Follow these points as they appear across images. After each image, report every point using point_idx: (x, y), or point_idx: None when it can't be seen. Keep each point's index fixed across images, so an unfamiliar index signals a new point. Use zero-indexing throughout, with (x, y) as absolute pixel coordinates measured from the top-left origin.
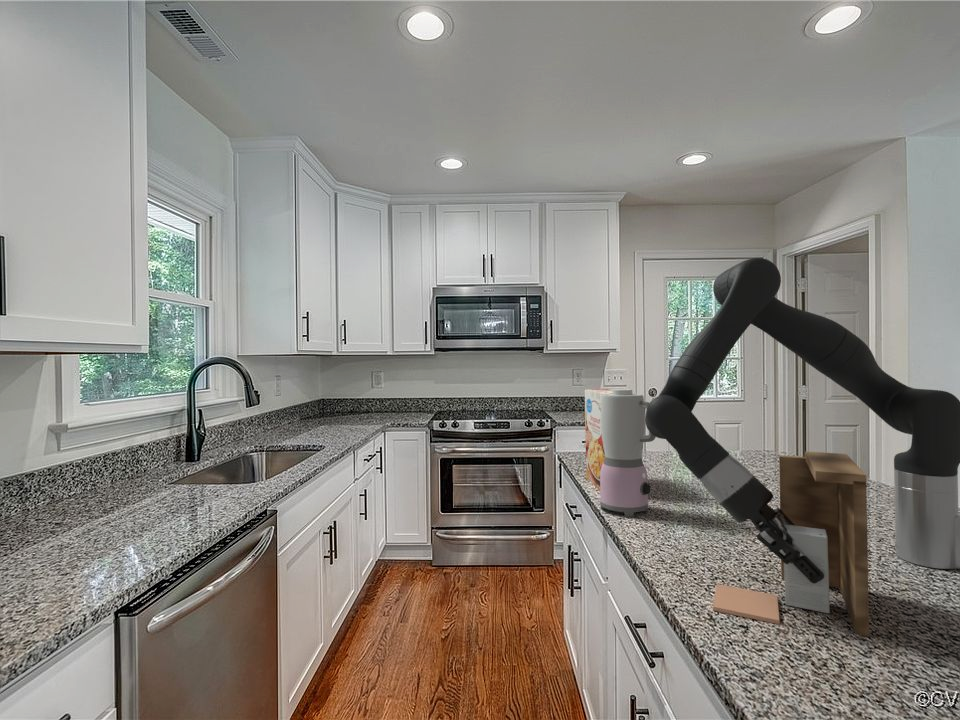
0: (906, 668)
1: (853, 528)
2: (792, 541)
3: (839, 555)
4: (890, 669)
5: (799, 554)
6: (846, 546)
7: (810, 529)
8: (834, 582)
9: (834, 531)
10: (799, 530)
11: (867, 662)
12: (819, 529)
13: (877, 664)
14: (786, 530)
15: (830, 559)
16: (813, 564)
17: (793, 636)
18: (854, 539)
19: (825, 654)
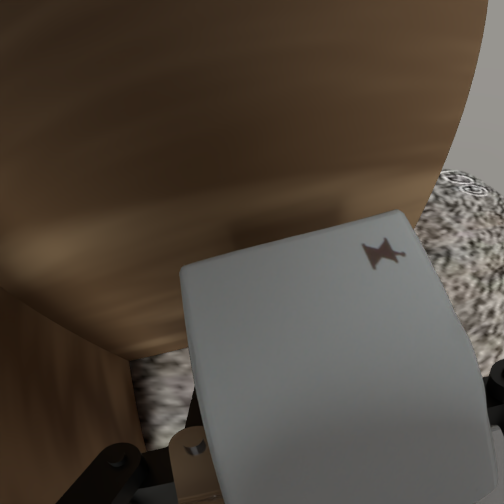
0: (427, 206)
1: (472, 23)
2: (491, 425)
3: (81, 326)
4: (451, 220)
5: (497, 366)
6: (239, 203)
7: (289, 371)
8: (123, 368)
9: (7, 307)
10: (411, 440)
11: (463, 246)
12: (222, 300)
13: (455, 235)
14: (491, 495)
15: (83, 362)
16: None
17: (489, 363)
18: (474, 66)
19: (496, 298)
